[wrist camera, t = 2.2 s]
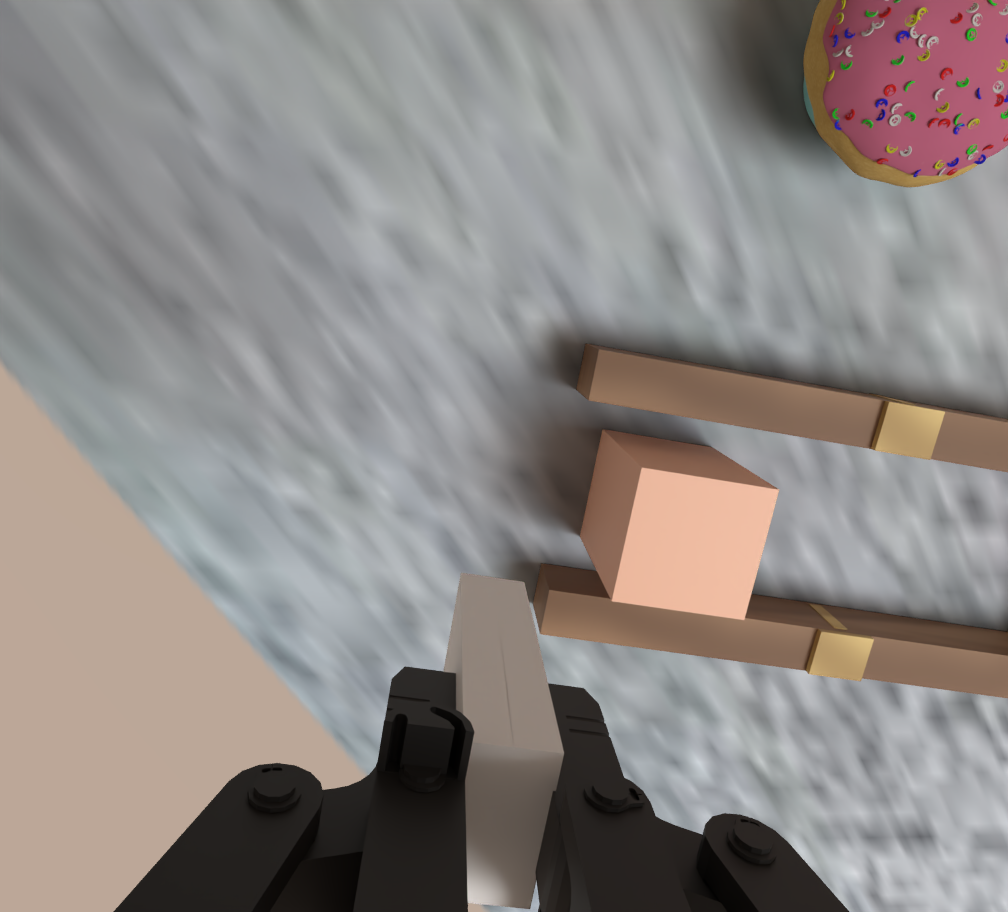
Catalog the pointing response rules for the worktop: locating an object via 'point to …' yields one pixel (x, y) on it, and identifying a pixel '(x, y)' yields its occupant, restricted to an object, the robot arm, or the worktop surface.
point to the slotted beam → (774, 621)
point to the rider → (675, 525)
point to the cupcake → (909, 85)
